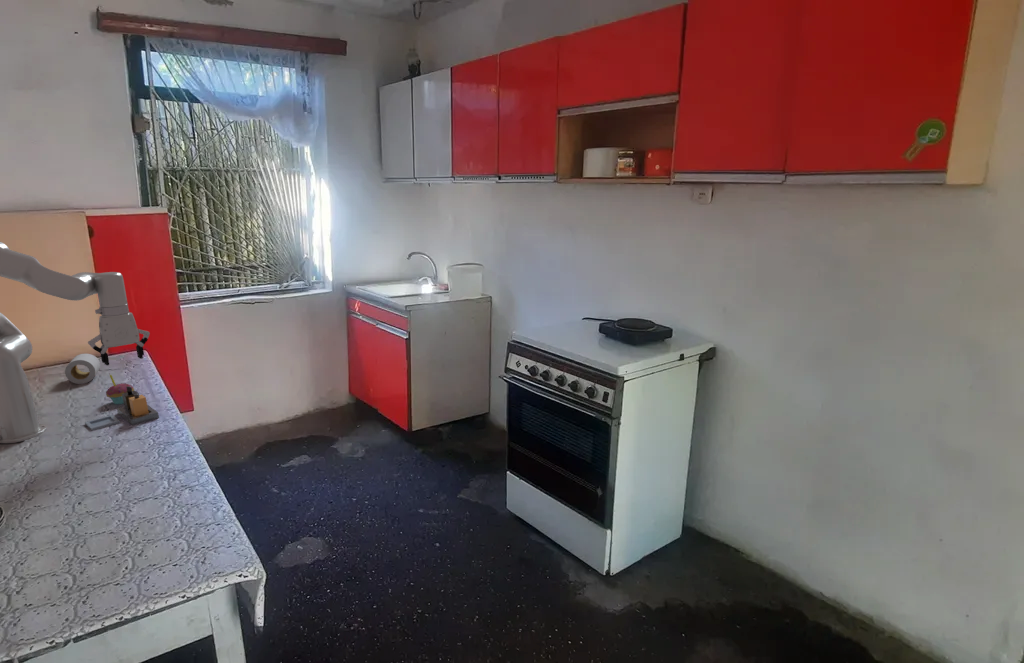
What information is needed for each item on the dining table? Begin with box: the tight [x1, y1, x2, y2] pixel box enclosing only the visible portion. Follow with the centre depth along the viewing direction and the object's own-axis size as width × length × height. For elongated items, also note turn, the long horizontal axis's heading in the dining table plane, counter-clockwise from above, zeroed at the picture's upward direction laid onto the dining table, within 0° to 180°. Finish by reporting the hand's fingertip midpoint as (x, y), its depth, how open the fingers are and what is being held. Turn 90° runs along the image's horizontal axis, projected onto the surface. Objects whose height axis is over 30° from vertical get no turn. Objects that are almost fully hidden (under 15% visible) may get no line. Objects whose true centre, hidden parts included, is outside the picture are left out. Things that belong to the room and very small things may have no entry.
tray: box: [84, 414, 121, 431], centre depth 195 cm, size 8×8×1 cm
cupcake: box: [105, 373, 135, 405], centre depth 213 cm, size 9×8×12 cm
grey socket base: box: [116, 386, 160, 426], centre depth 200 cm, size 16×8×10 cm, turn 48°
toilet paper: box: [64, 353, 101, 385], centre depth 239 cm, size 10×10×10 cm
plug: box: [129, 394, 149, 417], centre depth 198 cm, size 4×4×9 cm
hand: (123, 361), depth 193 cm, fingers open, 9 cm apart
